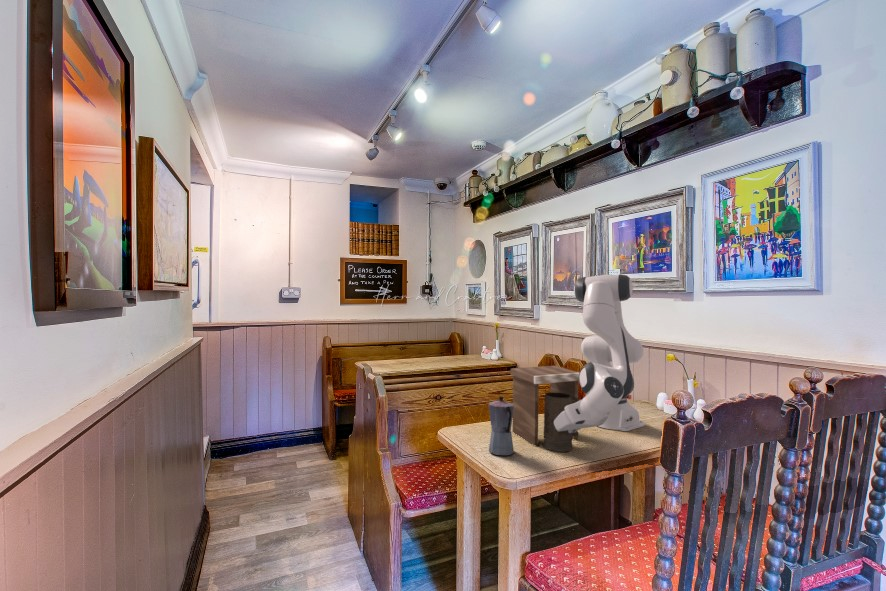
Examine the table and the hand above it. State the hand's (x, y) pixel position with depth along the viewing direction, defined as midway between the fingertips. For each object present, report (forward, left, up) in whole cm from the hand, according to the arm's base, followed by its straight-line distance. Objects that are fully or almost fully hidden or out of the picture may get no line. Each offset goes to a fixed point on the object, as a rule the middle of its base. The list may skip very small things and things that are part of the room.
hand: (571, 430), depth 153 cm
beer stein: (0, -4, -7) cm, 9 cm away
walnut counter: (0, -16, -7) cm, 18 cm away
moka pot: (+25, -7, -7) cm, 27 cm away
